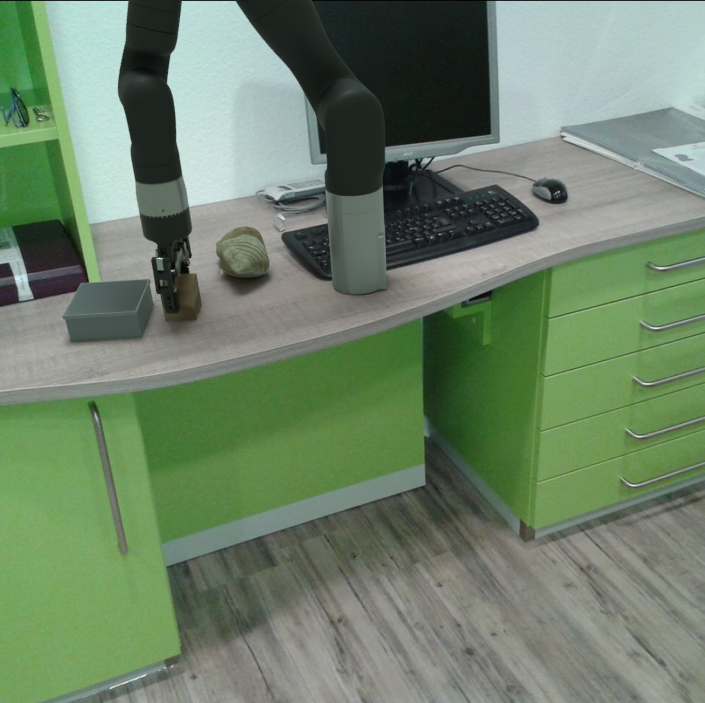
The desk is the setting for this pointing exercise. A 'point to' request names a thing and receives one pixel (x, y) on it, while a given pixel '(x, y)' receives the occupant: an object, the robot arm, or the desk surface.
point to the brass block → (186, 298)
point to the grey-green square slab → (109, 310)
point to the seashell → (243, 253)
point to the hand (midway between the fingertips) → (179, 300)
